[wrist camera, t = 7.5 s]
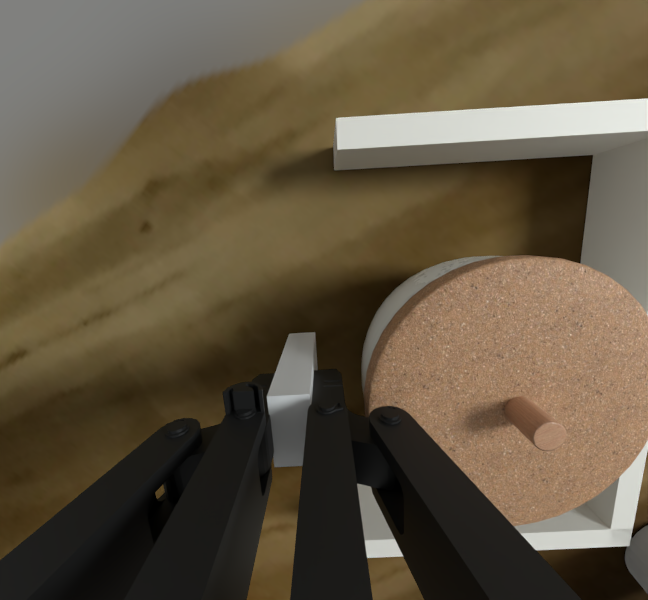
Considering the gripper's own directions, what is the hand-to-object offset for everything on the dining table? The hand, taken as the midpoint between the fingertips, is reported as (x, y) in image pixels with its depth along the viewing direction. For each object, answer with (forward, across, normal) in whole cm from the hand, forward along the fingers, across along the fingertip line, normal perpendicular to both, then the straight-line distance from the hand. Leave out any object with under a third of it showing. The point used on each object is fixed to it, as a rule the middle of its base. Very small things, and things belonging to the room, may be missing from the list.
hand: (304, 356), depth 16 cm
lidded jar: (+2, +8, 0) cm, 8 cm away
